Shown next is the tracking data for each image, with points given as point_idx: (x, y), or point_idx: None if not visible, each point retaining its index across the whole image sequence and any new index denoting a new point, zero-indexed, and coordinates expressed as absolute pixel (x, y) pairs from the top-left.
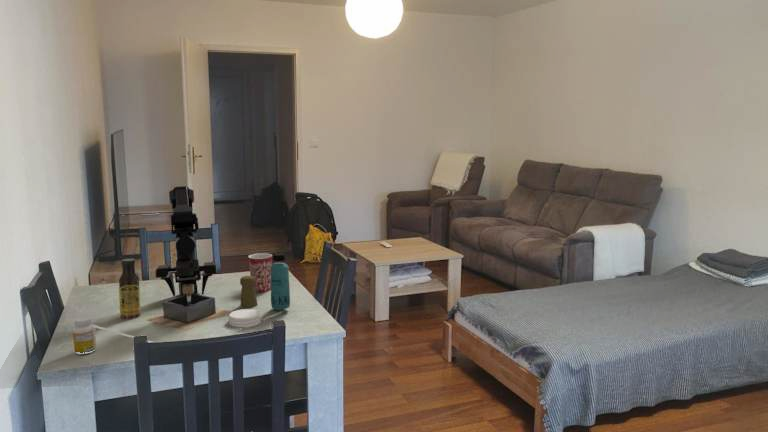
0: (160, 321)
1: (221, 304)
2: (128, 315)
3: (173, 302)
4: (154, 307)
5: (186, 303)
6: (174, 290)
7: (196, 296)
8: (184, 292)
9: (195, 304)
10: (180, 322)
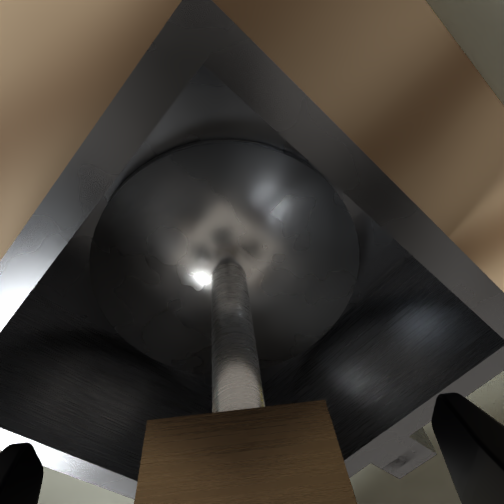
0: (479, 151)
1: (62, 475)
2: None
3: (408, 373)
4: None
5: None
6: (483, 493)
7: None
8: (303, 429)
9: (75, 156)
10: (290, 73)
